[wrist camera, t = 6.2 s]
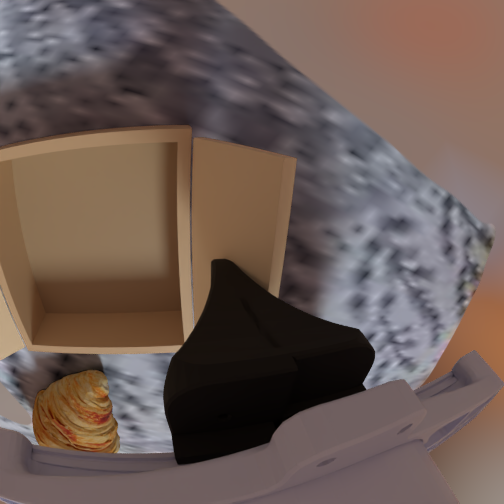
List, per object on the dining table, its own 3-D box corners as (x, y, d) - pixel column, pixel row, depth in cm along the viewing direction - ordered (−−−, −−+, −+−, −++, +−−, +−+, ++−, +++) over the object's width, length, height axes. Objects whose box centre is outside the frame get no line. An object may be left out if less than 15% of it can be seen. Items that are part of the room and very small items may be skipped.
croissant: (78, 321, 23) (20, 358, 15) (162, 391, 23) (121, 451, 15) (50, 418, 28) (18, 449, 20) (106, 465, 28) (79, 501, 20)
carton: (189, 312, 21) (194, 350, 18) (43, 315, 18) (28, 350, 15) (188, 124, 15) (191, 128, 12) (7, 144, 12) (-27, 156, 9)
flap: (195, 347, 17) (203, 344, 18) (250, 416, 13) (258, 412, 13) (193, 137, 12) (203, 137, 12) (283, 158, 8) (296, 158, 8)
